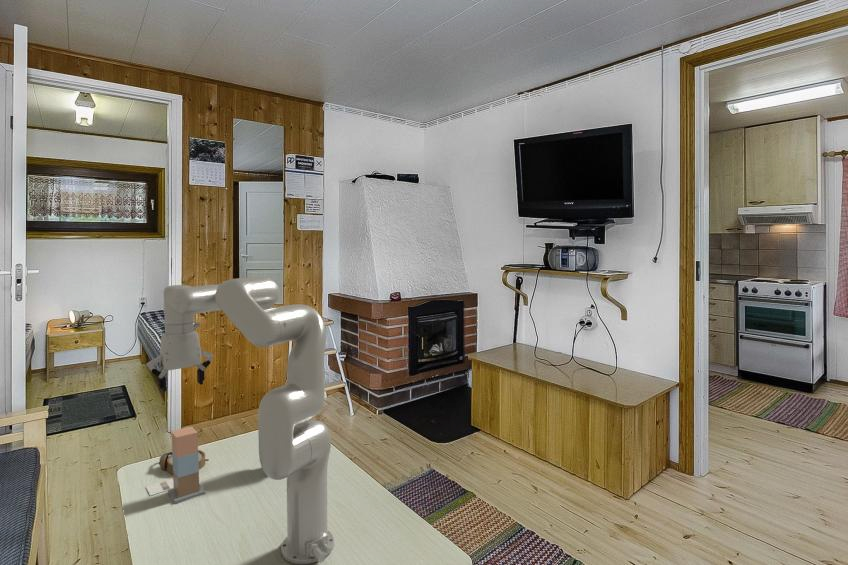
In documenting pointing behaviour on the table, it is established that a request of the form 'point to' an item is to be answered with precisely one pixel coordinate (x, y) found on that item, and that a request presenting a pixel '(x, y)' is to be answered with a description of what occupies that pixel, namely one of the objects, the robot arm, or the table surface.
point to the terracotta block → (184, 441)
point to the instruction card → (160, 487)
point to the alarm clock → (168, 461)
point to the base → (177, 500)
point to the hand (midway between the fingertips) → (182, 386)
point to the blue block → (185, 464)
